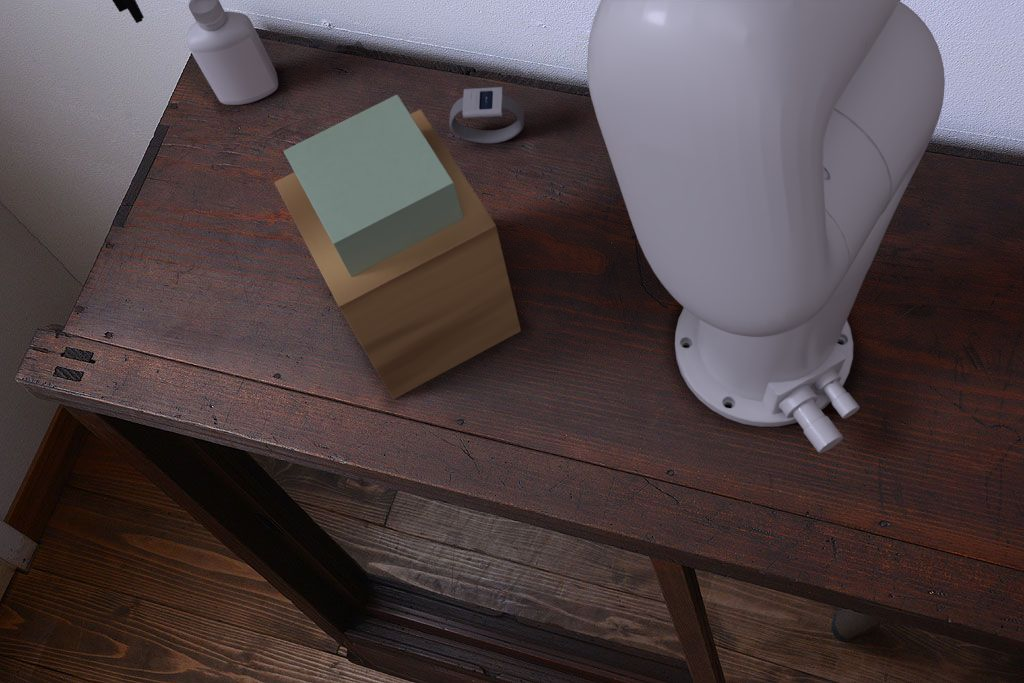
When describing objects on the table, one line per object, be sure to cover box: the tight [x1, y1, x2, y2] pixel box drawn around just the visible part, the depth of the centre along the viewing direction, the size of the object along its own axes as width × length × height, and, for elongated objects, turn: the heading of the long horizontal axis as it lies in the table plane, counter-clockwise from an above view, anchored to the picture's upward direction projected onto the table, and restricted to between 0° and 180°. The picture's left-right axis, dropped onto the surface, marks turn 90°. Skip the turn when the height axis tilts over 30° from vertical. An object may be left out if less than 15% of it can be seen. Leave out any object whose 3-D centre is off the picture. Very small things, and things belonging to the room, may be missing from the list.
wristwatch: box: [448, 86, 525, 144], centre depth 80 cm, size 6×3×5 cm, turn 89°
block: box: [283, 94, 464, 277], centre depth 61 cm, size 8×8×4 cm
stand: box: [274, 108, 522, 400], centre depth 69 cm, size 11×11×15 cm
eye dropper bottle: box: [186, 0, 279, 106], centre depth 83 cm, size 4×6×12 cm
